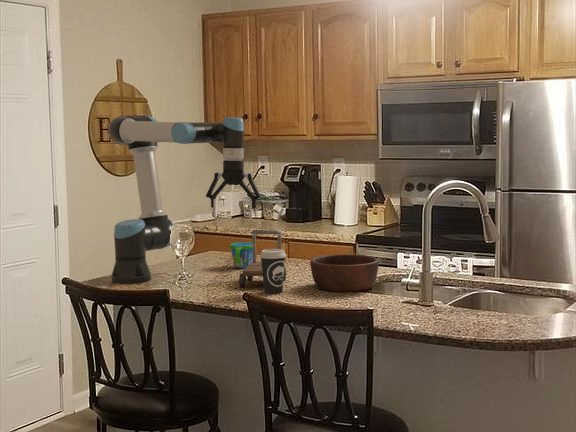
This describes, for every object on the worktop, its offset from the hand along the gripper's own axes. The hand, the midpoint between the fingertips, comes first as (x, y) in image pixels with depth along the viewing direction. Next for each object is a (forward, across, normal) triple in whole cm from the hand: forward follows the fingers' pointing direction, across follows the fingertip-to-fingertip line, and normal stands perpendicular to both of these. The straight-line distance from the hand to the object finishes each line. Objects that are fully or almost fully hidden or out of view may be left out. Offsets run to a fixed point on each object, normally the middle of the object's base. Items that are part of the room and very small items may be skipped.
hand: (233, 217), depth 285 cm
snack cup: (+27, -5, +38) cm, 47 cm away
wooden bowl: (+25, +42, +1) cm, 49 cm away
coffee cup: (+25, +17, -10) cm, 32 cm away
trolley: (+26, +10, +5) cm, 28 cm away
